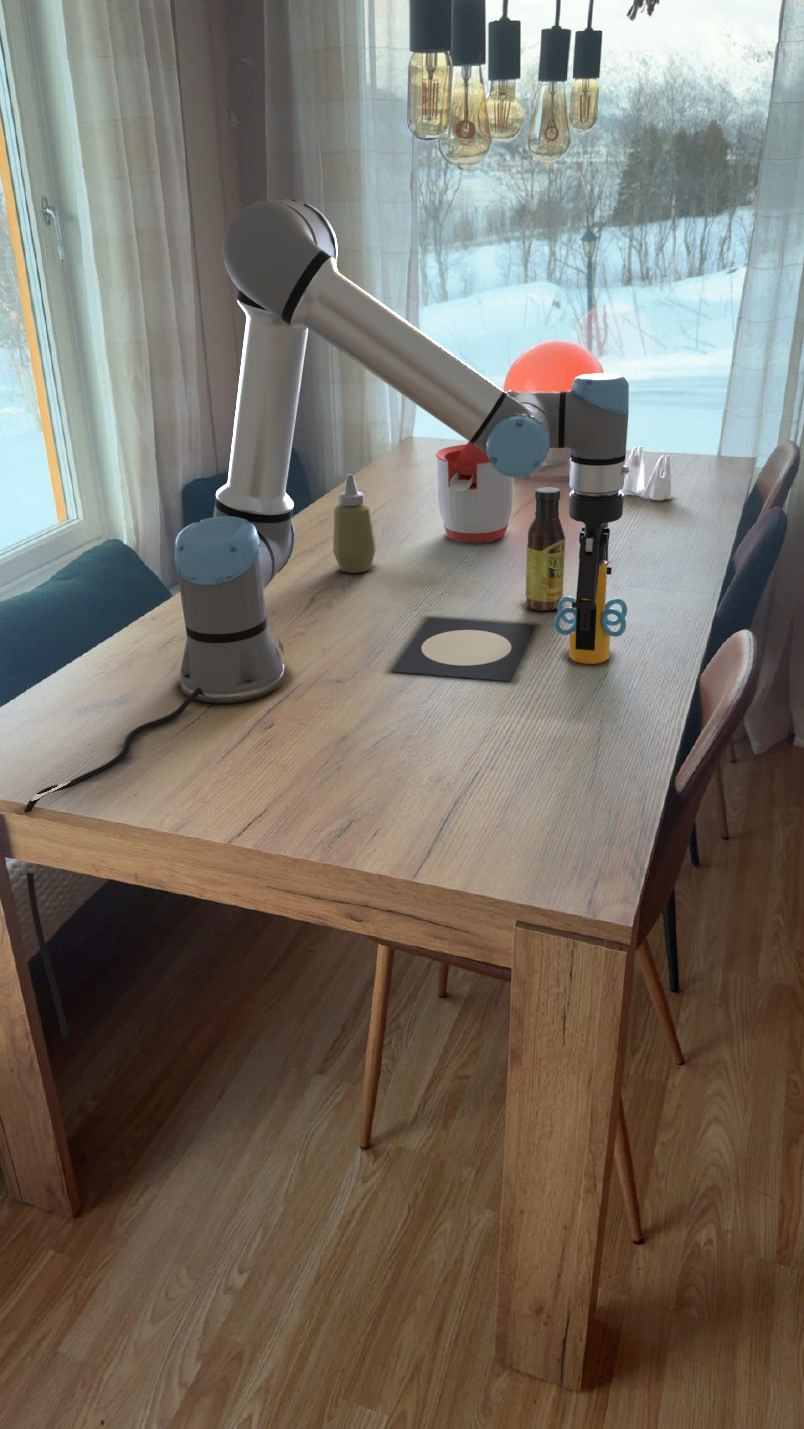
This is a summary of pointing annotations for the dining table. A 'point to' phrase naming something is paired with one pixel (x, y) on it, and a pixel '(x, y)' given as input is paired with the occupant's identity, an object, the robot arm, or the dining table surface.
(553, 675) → the dining table surface
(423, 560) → the dining table surface
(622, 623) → the cylinder
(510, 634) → the mat
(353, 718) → the dining table surface
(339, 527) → the squeeze bottle
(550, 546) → the sauce bottle
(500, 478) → the citrus juicer
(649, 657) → the dining table surface
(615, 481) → the robot arm
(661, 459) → the shaker set
